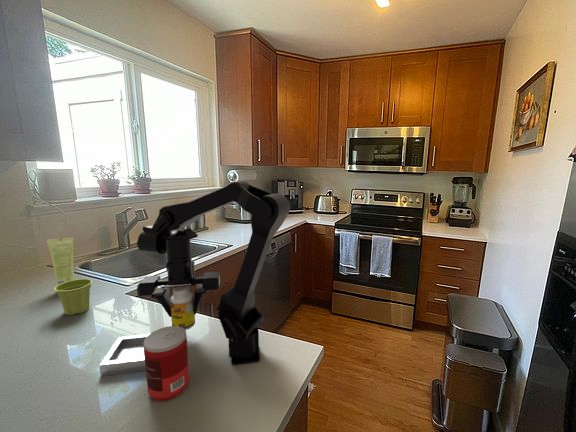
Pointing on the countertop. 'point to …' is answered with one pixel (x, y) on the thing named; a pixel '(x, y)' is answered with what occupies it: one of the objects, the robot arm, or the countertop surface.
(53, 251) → the tube
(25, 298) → the countertop surface
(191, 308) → the supplement bottle
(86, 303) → the plant pot
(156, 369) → the canned food
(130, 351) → the square metal tray
